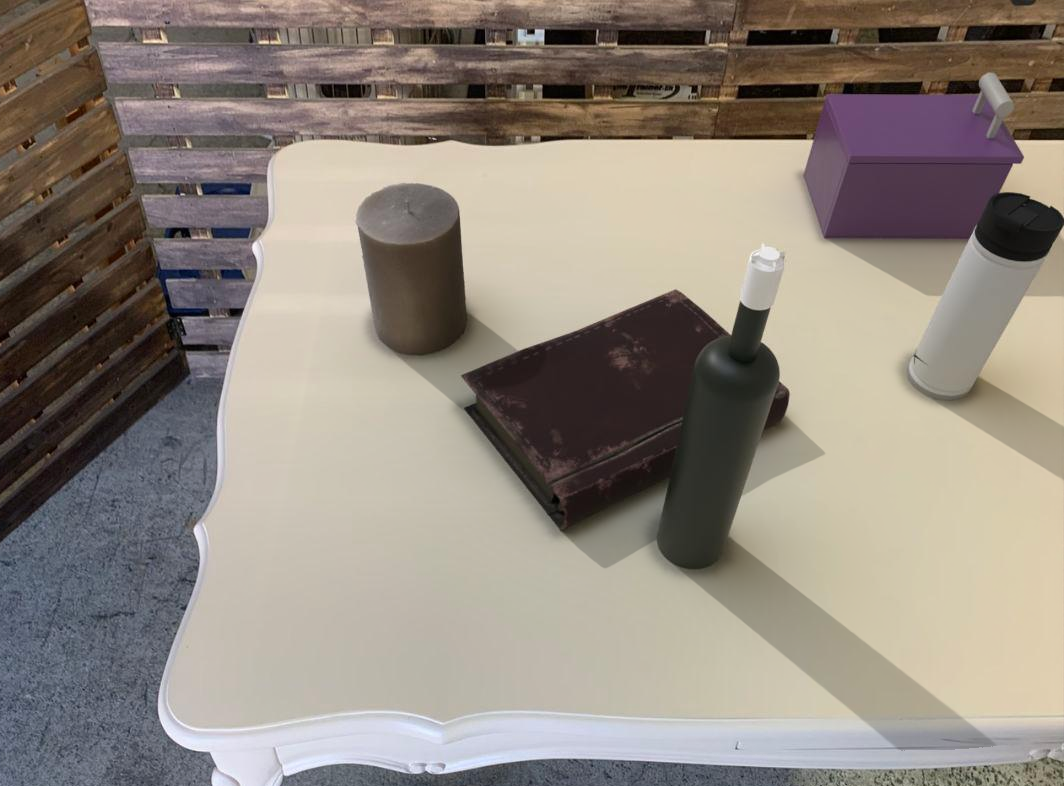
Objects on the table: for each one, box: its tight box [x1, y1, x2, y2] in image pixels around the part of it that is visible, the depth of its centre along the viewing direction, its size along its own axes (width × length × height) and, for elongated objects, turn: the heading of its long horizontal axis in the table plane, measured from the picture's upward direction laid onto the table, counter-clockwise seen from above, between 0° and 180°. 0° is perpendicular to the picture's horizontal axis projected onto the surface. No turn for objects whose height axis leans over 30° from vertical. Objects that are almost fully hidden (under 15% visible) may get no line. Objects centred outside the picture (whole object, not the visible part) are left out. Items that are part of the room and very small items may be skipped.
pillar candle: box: [355, 182, 468, 356], centre depth 88 cm, size 10×10×15 cm
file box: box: [803, 101, 1014, 240], centre depth 103 cm, size 18×13×10 cm
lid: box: [824, 72, 1025, 165], centre depth 97 cm, size 18×13×5 cm
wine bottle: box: [656, 242, 787, 570], centre depth 66 cm, size 6×6×30 cm
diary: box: [460, 288, 791, 532], centre depth 84 cm, size 19×25×5 cm
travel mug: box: [906, 191, 1064, 401], centre depth 82 cm, size 6×7×20 cm
